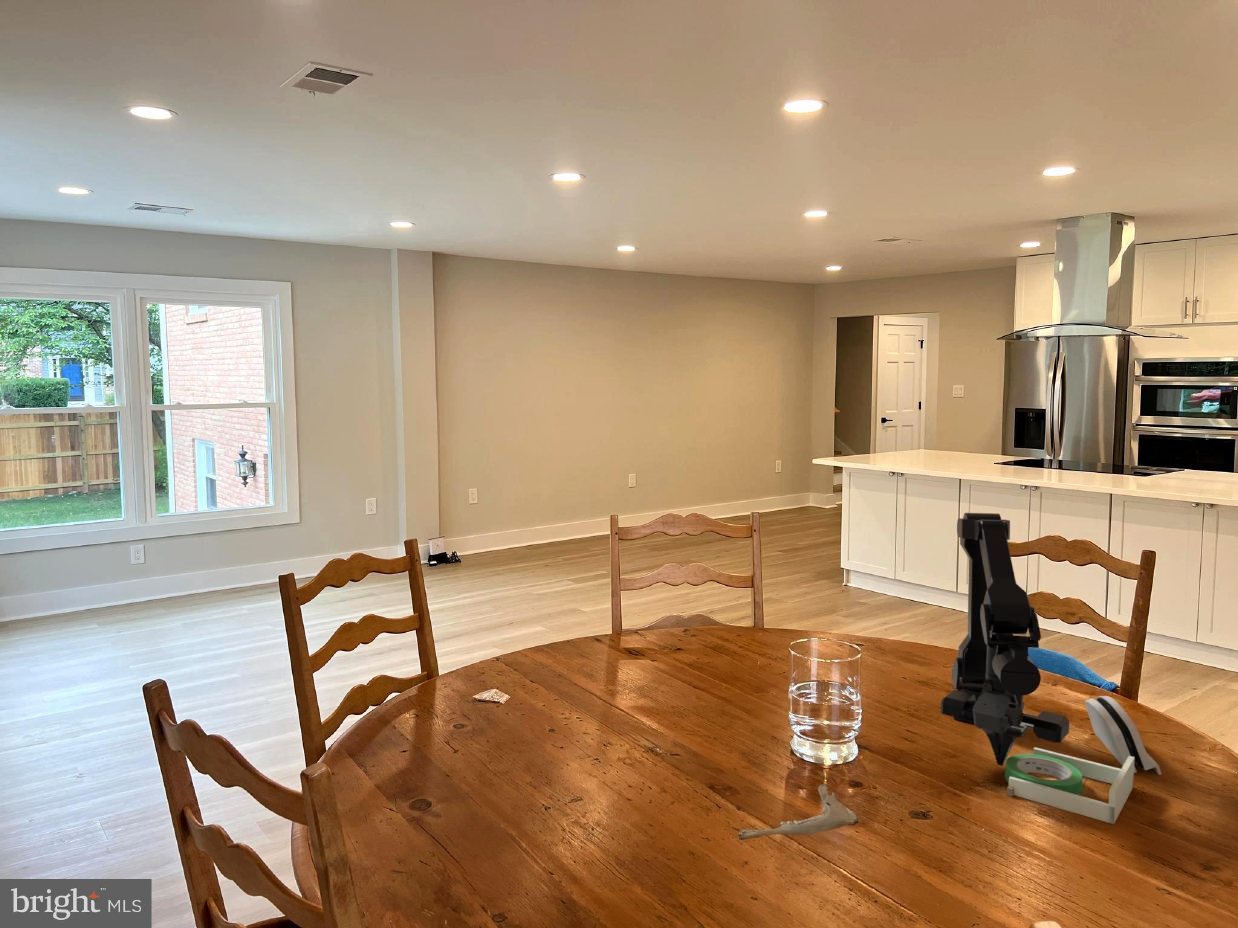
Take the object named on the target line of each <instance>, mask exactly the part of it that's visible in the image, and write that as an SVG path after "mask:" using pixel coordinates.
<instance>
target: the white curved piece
mask: <svg viewBox="0 0 1238 928" xmlns="http://www.w3.org/2000/svg"><path fill="white" fill-rule="evenodd" d="M1084 705H1085V708H1086V711H1087V714H1088V717H1089V720H1090V724H1091V727H1092V730H1093V732H1094V734H1095V735H1096V737H1097V739H1099V740H1100V741H1101V743H1103V745H1104V746H1105V747H1106V748H1107V749H1108V751H1109V752H1110V753H1111V754H1112V755H1113V756H1114V758H1115V759H1117V761H1118V762H1119V763H1120V764H1121V766H1122V767H1123V765H1124V763H1125V762H1126V760H1127V758H1128V756H1132V757H1135V759H1134V774H1135V773H1136V774H1137V772H1138V770H1139V768H1140V769H1143V770H1144V771H1149V770H1151V769H1153V771H1155V773H1156V774H1157V775H1159V776H1161V775H1163V774H1162V771H1161V769H1160V765H1159V764H1158V763H1157V762H1156V761H1155V760H1154V758H1152V756H1151V755H1149V754H1148V752H1147V751H1146V749H1145V746H1144V742H1143V740H1142V738H1141V735H1140V733H1139V730H1138V728H1137V726H1136V724H1135V723H1134V722H1133V720H1132V719H1131V717H1130V716H1129V715H1128V713H1127V712H1126V711H1125V710H1124V708H1123V707H1122V706H1121V705H1120V704H1119V703H1118V702H1117V701H1116V700H1115V699H1113V698H1112V697H1110V696H1108V695H1102V696H1101V695H1100V696H1098V697H1097V698H1092V697H1091V698H1089V699H1087V700H1085V701H1084Z"/></svg>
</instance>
